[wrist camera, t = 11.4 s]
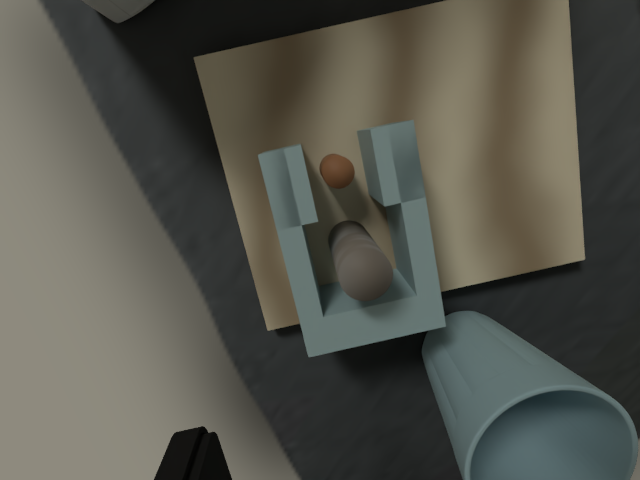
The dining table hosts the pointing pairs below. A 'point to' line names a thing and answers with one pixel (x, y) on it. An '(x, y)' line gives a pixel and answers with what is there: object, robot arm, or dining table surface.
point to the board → (431, 133)
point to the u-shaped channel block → (406, 236)
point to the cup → (522, 408)
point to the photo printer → (118, 8)
